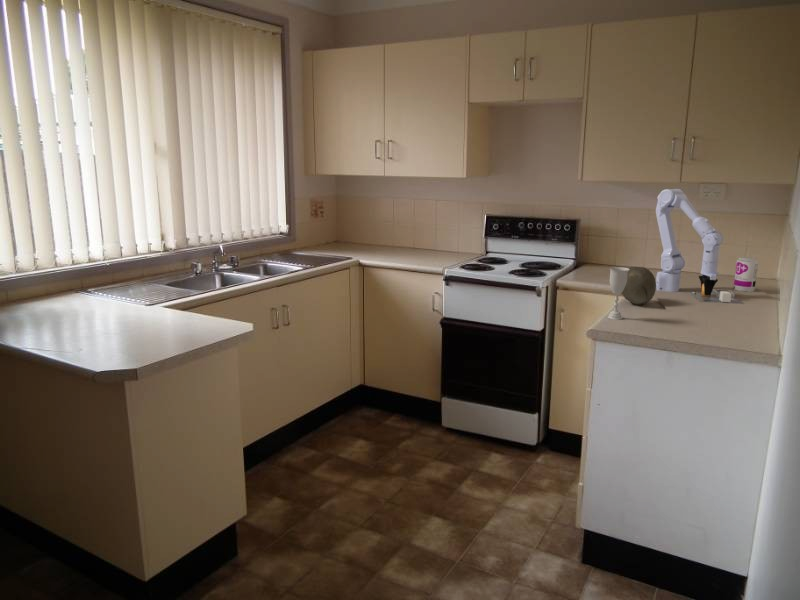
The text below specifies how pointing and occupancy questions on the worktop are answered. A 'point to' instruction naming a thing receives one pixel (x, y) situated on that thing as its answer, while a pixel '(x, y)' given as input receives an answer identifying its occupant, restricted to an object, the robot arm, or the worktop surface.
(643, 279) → the cantaloupe
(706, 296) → the cap
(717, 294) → the frame
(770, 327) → the worktop surface
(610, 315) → the chalice
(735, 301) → the breaker panel
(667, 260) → the robot arm
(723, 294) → the handle
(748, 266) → the supplement can
